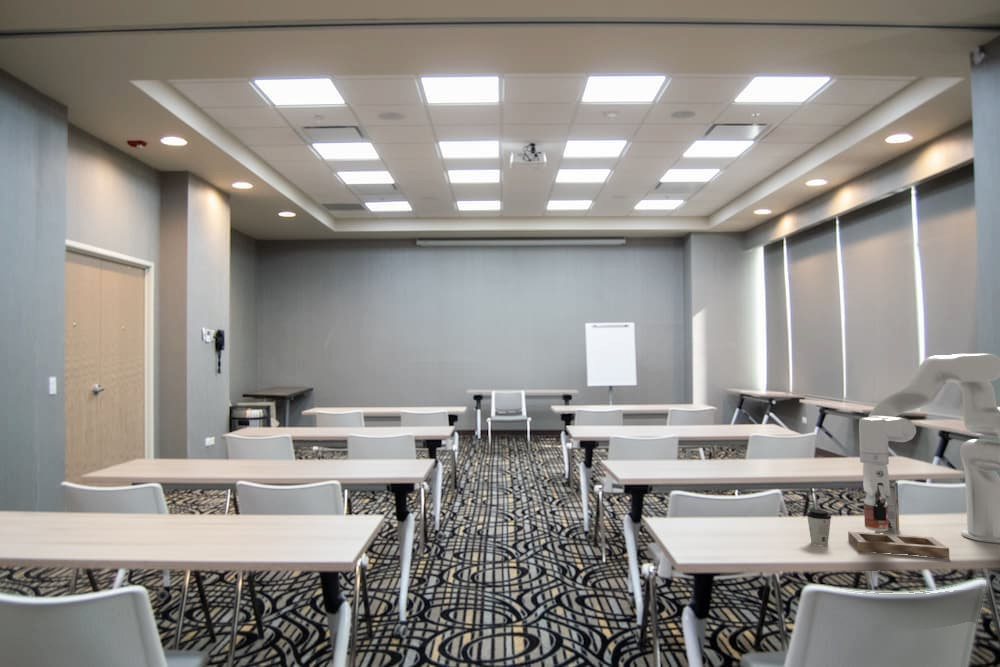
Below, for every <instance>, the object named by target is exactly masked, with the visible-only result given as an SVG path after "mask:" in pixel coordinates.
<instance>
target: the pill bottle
mask: <svg viewBox="0 0 1000 667" xmlns="http://www.w3.org/2000/svg"><path fill="white" fill-rule="evenodd" d="M865 495H867V497H868V498H867V499H866V498H865V499H864V500H863V511H864V512H863V513H864V527H865V528H866V529H868V530H870V531H874V532H875V531H887V530H888V505H887V502H886V521H880V520H874V514H873V506H874V499H873V497H872V496H871V495H869V492H865ZM876 496H879V495H876ZM877 501H878V499H877Z"/></svg>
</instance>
